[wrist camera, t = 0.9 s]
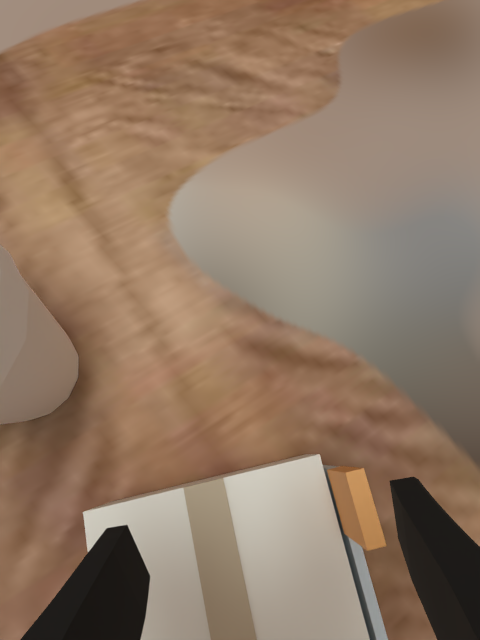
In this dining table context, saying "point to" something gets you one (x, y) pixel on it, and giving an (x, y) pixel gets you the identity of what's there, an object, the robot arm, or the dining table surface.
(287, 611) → the carton
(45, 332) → the foam cup
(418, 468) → the dining table surface
